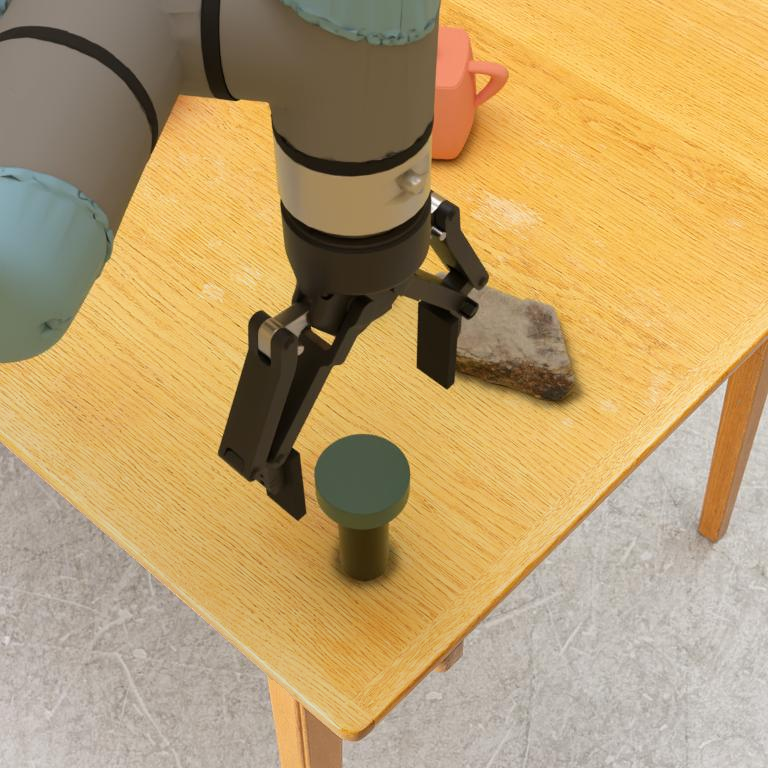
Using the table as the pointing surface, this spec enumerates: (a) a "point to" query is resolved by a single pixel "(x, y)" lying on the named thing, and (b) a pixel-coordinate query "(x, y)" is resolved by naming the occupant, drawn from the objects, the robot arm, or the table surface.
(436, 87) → the teapot
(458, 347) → the stone
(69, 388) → the table surface
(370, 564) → the black cylinder
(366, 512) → the green chip
